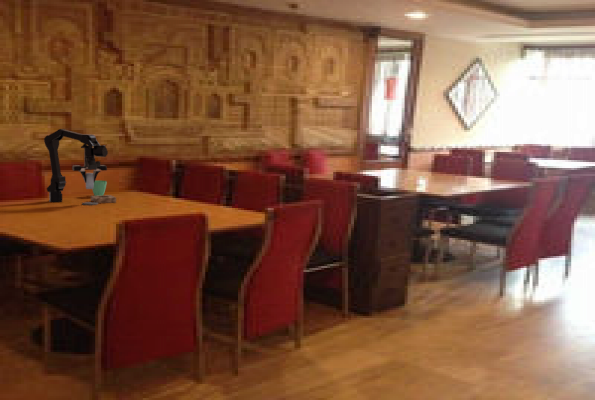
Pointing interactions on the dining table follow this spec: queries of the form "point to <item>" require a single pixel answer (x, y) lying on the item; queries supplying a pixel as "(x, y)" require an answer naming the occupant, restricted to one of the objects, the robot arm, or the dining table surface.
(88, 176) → the grey rounded cylinder
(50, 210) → the dining table surface
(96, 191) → the mug
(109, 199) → the frame
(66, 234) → the dining table surface
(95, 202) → the coaster
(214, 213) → the dining table surface
